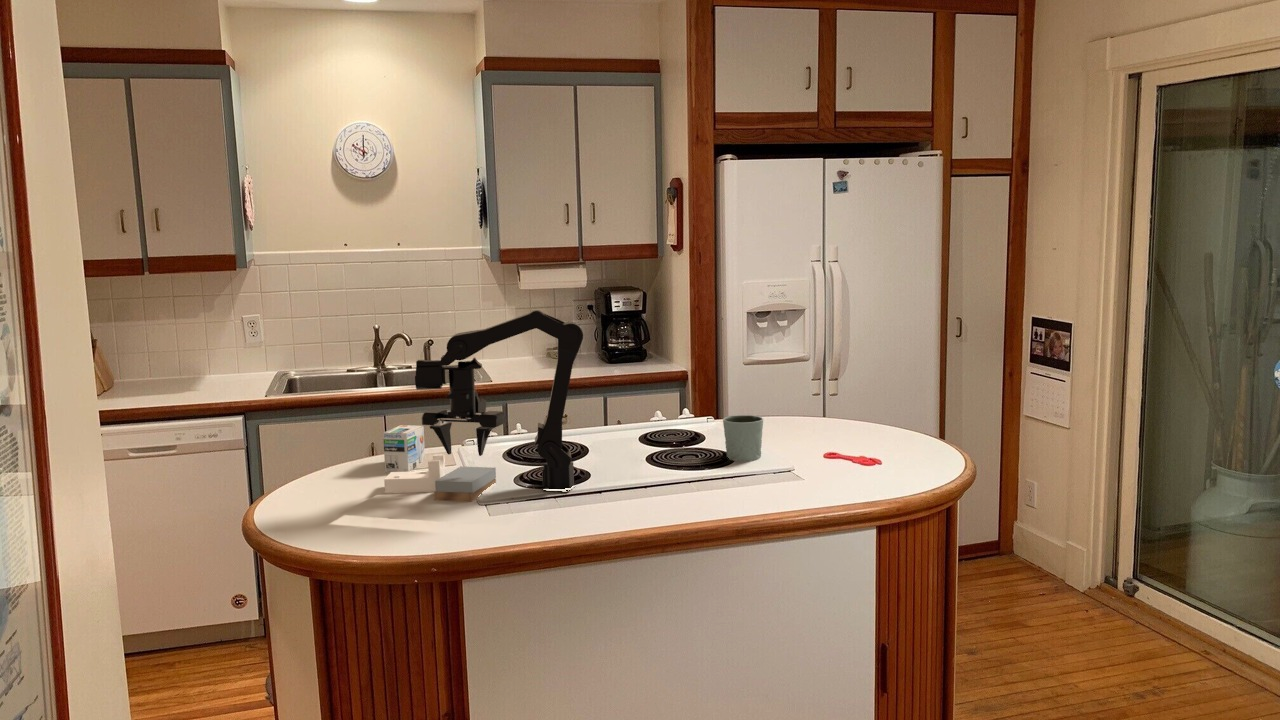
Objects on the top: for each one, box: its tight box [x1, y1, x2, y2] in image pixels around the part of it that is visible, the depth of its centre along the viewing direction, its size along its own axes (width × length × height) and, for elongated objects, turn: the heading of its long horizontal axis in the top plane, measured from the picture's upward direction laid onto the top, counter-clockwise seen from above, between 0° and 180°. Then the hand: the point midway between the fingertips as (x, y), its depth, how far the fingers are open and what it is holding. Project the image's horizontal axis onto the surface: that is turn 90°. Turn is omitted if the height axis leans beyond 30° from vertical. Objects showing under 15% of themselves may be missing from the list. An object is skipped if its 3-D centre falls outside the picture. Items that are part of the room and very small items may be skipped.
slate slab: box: [435, 465, 497, 493], centre depth 227 cm, size 9×14×2 cm, turn 167°
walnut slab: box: [433, 478, 497, 503], centre depth 227 cm, size 9×14×2 cm, turn 165°
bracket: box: [383, 453, 446, 494], centre depth 232 cm, size 13×7×8 cm, turn 92°
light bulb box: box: [382, 424, 426, 473], centre depth 251 cm, size 11×7×11 cm, turn 168°
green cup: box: [722, 414, 764, 463], centre depth 249 cm, size 10×10×12 cm
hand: (465, 454), depth 226 cm, fingers open, 8 cm apart
